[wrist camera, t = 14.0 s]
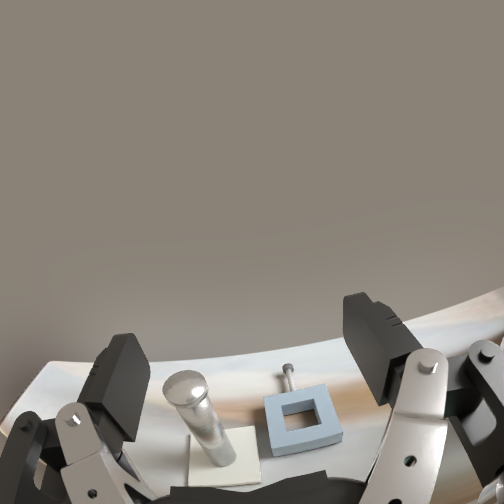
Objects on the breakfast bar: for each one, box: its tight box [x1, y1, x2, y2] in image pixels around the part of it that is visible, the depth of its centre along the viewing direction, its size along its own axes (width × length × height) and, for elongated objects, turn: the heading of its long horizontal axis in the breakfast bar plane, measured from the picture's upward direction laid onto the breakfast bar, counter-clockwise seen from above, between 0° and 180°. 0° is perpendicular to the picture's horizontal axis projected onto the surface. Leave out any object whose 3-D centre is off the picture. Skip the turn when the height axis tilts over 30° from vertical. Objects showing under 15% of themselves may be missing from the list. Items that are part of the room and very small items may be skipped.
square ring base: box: [263, 363, 343, 457], centre depth 39 cm, size 10×17×3 cm, turn 5°
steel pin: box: [163, 370, 236, 467], centre depth 29 cm, size 5×5×17 cm
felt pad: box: [188, 426, 262, 487], centre depth 32 cm, size 10×10×1 cm
